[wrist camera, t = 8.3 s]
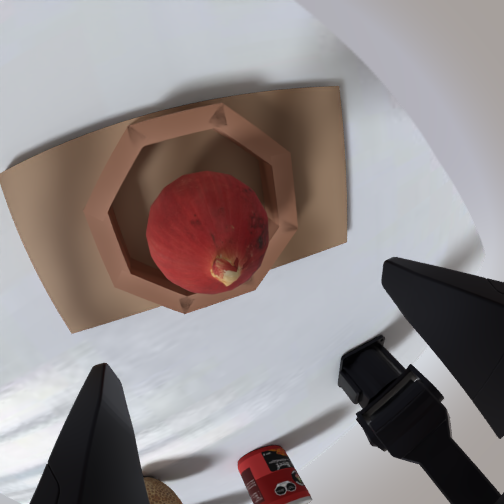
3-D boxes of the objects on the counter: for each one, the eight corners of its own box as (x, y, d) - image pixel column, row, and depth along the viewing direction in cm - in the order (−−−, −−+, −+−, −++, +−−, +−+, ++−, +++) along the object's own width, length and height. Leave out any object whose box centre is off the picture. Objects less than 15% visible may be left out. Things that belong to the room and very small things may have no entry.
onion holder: (330, 86, 18) (358, 85, 15) (339, 237, 24) (362, 253, 21) (4, 171, 12) (-17, 182, 10) (73, 324, 18) (69, 352, 16)
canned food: (289, 448, 41) (319, 498, 31) (251, 468, 40) (276, 519, 31) (269, 440, 36) (301, 499, 27) (226, 463, 36) (252, 521, 27)
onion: (235, 153, 17) (307, 185, 10) (243, 240, 19) (304, 313, 13) (136, 171, 15) (134, 219, 8) (155, 262, 18) (174, 353, 11)
